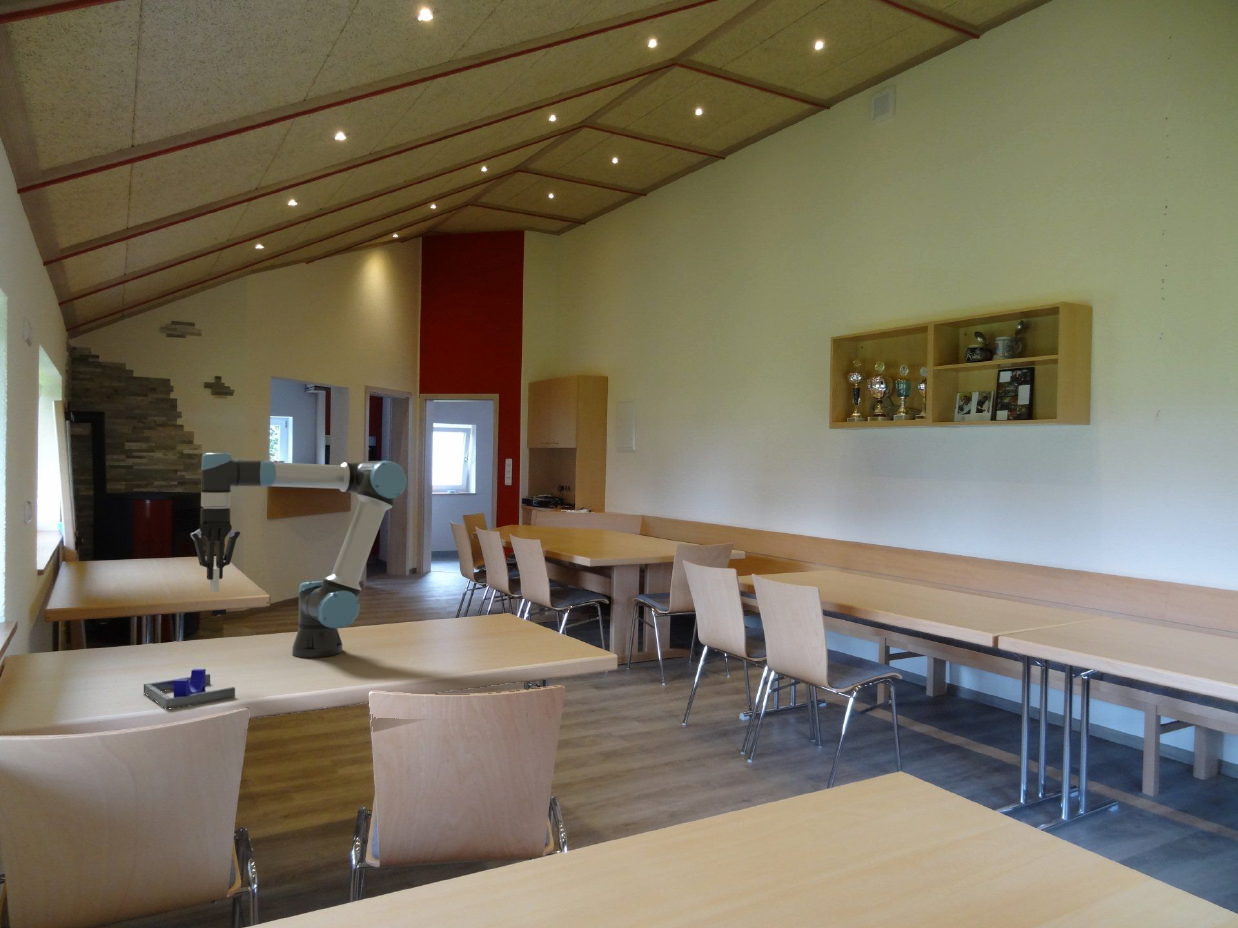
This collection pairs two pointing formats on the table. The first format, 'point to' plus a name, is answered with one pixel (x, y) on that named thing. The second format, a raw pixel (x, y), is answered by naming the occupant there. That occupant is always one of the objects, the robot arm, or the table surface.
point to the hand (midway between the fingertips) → (214, 590)
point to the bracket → (155, 693)
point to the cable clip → (190, 683)
